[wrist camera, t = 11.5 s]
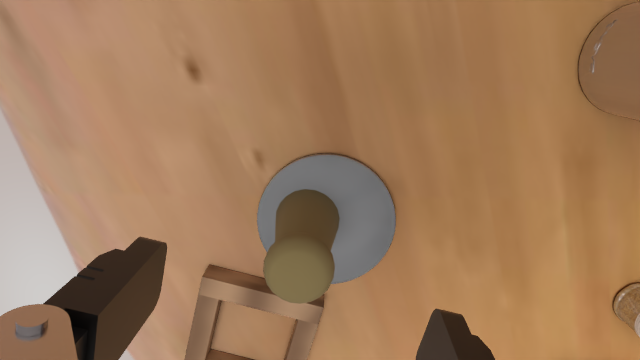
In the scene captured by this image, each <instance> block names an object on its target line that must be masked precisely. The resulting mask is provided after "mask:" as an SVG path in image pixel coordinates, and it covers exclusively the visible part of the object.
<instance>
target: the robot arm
mask: <svg viewBox="0 0 640 360" xmlns="http://www.w3.org/2000/svg"><path fill="white" fill-rule="evenodd" d="M578 71H579V81H580V84H581V87H582V90H583V92H584V94H585V95H586V97H587V98H588V100H589V101H590V102H591V103H592V104H594V105H595V106H596V107H597V108H599V109H601V110H603V111H604V112H607V113H611V114H615V115H619V116H623V117H627V118H631V119H635V120H639V121H640V2H636V3H632V4H629V5H626V6H623V7H621V8H619V9H617V10H616V11H614V12H612V13H611V14H609V15H608V16H607V17H605V18H604V19H603V20H602V21H601V22H600V23H599V24H598V25H597V26H596V27H595V28H594V30H593V31H592V32H591V33H590V35H589V37H588V39H587V40H586V42H585V44H584V46H583V49H582V52H581V55H580V60H579V68H578ZM166 253H167V244H166V243H164V242H160V241H156V240H152V239H148V238H144V237H139V238H137V239H136V240H135V241H134V242H133V243H132V244H131V245H130V246H129V247H128V248H127V249H126V250H125V251H123V250H118V249H114V250H112V251H109V252H107V253H104V254H102V255H99V256H98V257H97V258H95V259H94V260H93V261H92V262H91V263H90V264H89V265H87V268H84V269H83V270H82V271H81V272H79V273H78V274H77V277H74V278H72V279H71V280H70V281H69V282H68V283H67V284H66V285H65V286H63V287H62V288H61V289H60V290H59V291H57V292H56V293H55V294H54V295H53V296H52V297H51V298H50V299H48V300H47V301H46V302H45V303H44V304H35V305H28V306H23V307H19V308H16V309H13V310H11V311H9V312H7V313H5V314H3V315H2V316H0V360H118V359H119V358H120V357H121V355H122V354H123V352H124V351H125V350H126V348H127V347H128V345H129V344H130V343H131V341H132V340H133V338H134V337H135V335H136V334H137V333H138V331H139V330H140V328H141V327H142V326H143V324H144V323H145V321H146V320H147V318H148V317H149V316H150V314H151V313H152V311H153V310H154V308H155V306H156V304H157V301H158V299H159V296H160V292H161V286H162V280H163V273H164V266H165V260H166ZM416 360H495V358H494V356H493V354H492V352H491V350H490V349H489V348H488V347H487V346H486V345H485V344H484V343H483V342H482V340H481V339H480V338H479V337H478V336H475V335H472V334H471V332H470V330H469V328H468V326H467V323H466V321H465V319H464V317H463V316H462V315H461V314H457V313H453V312H449V311H445V310H440V309H435V310H434V311H433V313H432V315H431V317H430V320H429V322H428V325H427V328H426V330H425V333H424V336H423V338H422V341H421V343H420V346H419V349H418V351H417V355H416Z"/></svg>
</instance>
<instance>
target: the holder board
mask: <svg viewBox="0 0 640 360" xmlns="http://www.w3.org/2000/svg"><path fill="white" fill-rule="evenodd" d="M221 300H223V301H227V302H231V303H235V304H239V305H243V306H246V307H250V308H254V309H258V310H262V311H266V312H270V313H274V314H278V315H282V316H286V317H290V318H294V319H296V322H295V325H294V328H293V332H292V335H291V338H290V342H289V345H288V348H287V352H286V355H285V358H284V360H307V358H308V355H309V352H310V349H311V346H312V343H313V339H314V336H315V333H316V330H317V327H318V324H319V321H320V318H321V314H322V311H323V308H324V294H323V295H322V296H321V297H319V298H317V299H315V300H313V301H311V302H307V303H301V304H298V303H290V302H287V301H285V300H282V299H281V298H279V297H278V296H277V295H275V294H274V293H273V292H272V291H271V289H270V288H269V286H268V285H267V283H266V280H265V279H264V278H260V277H256V276H252V275H248V274H244V273H241V272H237V271H233V270H229V269H225V268H221V267H217V266H213V265H209V266H208V268H207V269H206V271H205V273H204V275H203V276H202V280H201V285H200V290H199V294H198V299H197V304H196V308H195V313H194V318H193V322H192V327H191V332H190V336H189V341H188V346H187V351H186V355H185V360H253V359H249V358H245V357H241V356H237V355H233V354H229V353H224V352H220V351H216V350H212V349H210V347H211V343H212V339H213V334H214V330H215V326H216V321H217V317H218V313H219V309H220V304H221Z"/></svg>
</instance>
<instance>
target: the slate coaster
mask: <svg viewBox="0 0 640 360" xmlns="http://www.w3.org/2000/svg"><path fill="white" fill-rule="evenodd" d="M303 189H310V190H316V191H319V192H321V193H323V194H325V195H326V196H328V197H329V198H330V199H331V200H332V201H333V202H334V204H335V206H336V207H337V209H338V213H339V218H340V219H339V228H338V231H337V234H336V237H335V240H334V243H333V246H332V249H331V253H332V255H333V259H334V263H335V270H334V278H333V280H332V282H331V284H336V283H343V282H346V281H350V280H353V279H355V278H357V277H360V276H361V275H363V274H365V273H367V272H368V271H369V270H371V269H372V268H373V267H374V266H376V265H377V264H378V263H379V262H380V260H381V259H382V258H383V257H384V255H385V254H386V252H387V251H388V249H389V247H390V245H391V242H392V240H393V236H394V232H395V225H396V216H395V209H394V205H393V202H392V199H391V196H390V194H389V192H388V189H387V187H386V186H385V184H384V183H383V181H382V180H381V179H380V178H379V176H378V175H377V174H376V173H375V172H374V171H373V170H371V169H370V168H369V167H367V166H366V165H364V164H363V163H361V162H359V161H357V160H355V159H353V158H350V157H347V156H343V155H339V154H330V153H323V154H314V155H308V156H305V157H302V158H299V159H297V160H295V161H293V162H291V163H289V164H288V165H286V166H285V167H283V168H282V169H281V170H280V171H279V172H278V173H277V174H276V175H275V176H274V177H273V178H272V179H271V181H270V182H269V184H268V185H267V187H266V189H265V191H264V193H263V195H262V197H261V200H260V204H259V208H258V214H257V224H258V231H259V235H260V239H261V241H262V244H263V246H264V248H265V250H266V251H267V252H268V250H269V248H270V247H271V246H272V245H273V244H274V242H275V221H276V211H277V208H278V206H279V204H280V202H281V201H282V200H283V199H284V198H285V197H286V196H287V195H289V194H291V193H292V192H294V191H298V190H303Z"/></svg>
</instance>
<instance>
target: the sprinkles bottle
mask: <svg viewBox="0 0 640 360" xmlns="http://www.w3.org/2000/svg"><path fill="white" fill-rule="evenodd" d="M614 311H615V313H616V315H617V317H618V318H619V319H621V320H622V321H624V322H626V323H627V324H628V325H629V326H630V327H631V328H632V329H633V330H634V331H635V332H636V333H637V335H638V336H639V337H640V283H637V284H632V285H630V286H628V287H626V288H624V289H623V290H622V291H620V292H619V293H618V295H617V296H616V298H615V301H614Z"/></svg>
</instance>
